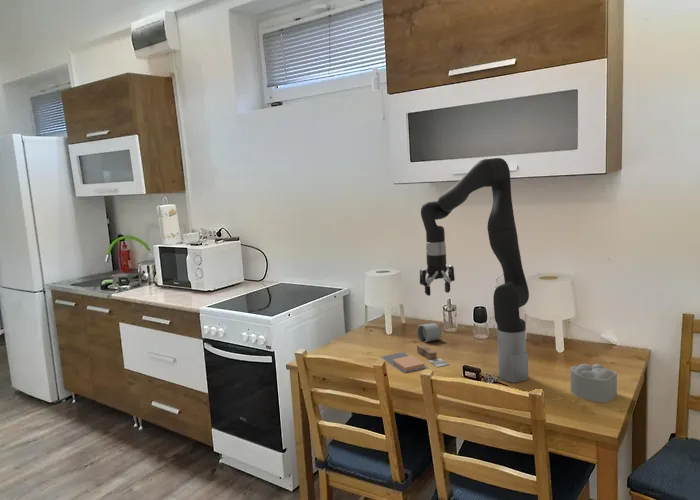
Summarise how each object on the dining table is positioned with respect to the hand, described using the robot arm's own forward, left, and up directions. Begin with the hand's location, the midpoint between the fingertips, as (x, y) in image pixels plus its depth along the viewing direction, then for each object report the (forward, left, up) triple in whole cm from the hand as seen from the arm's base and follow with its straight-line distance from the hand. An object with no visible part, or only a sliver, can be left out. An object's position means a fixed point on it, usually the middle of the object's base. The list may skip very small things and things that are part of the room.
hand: (437, 293), depth 207 cm
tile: (-2, +18, -23) cm, 29 cm away
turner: (-4, +7, -24) cm, 26 cm away
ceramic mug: (+16, -4, -24) cm, 30 cm away
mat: (-3, +18, -24) cm, 30 cm away
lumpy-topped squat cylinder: (-57, -20, -24) cm, 65 cm away
